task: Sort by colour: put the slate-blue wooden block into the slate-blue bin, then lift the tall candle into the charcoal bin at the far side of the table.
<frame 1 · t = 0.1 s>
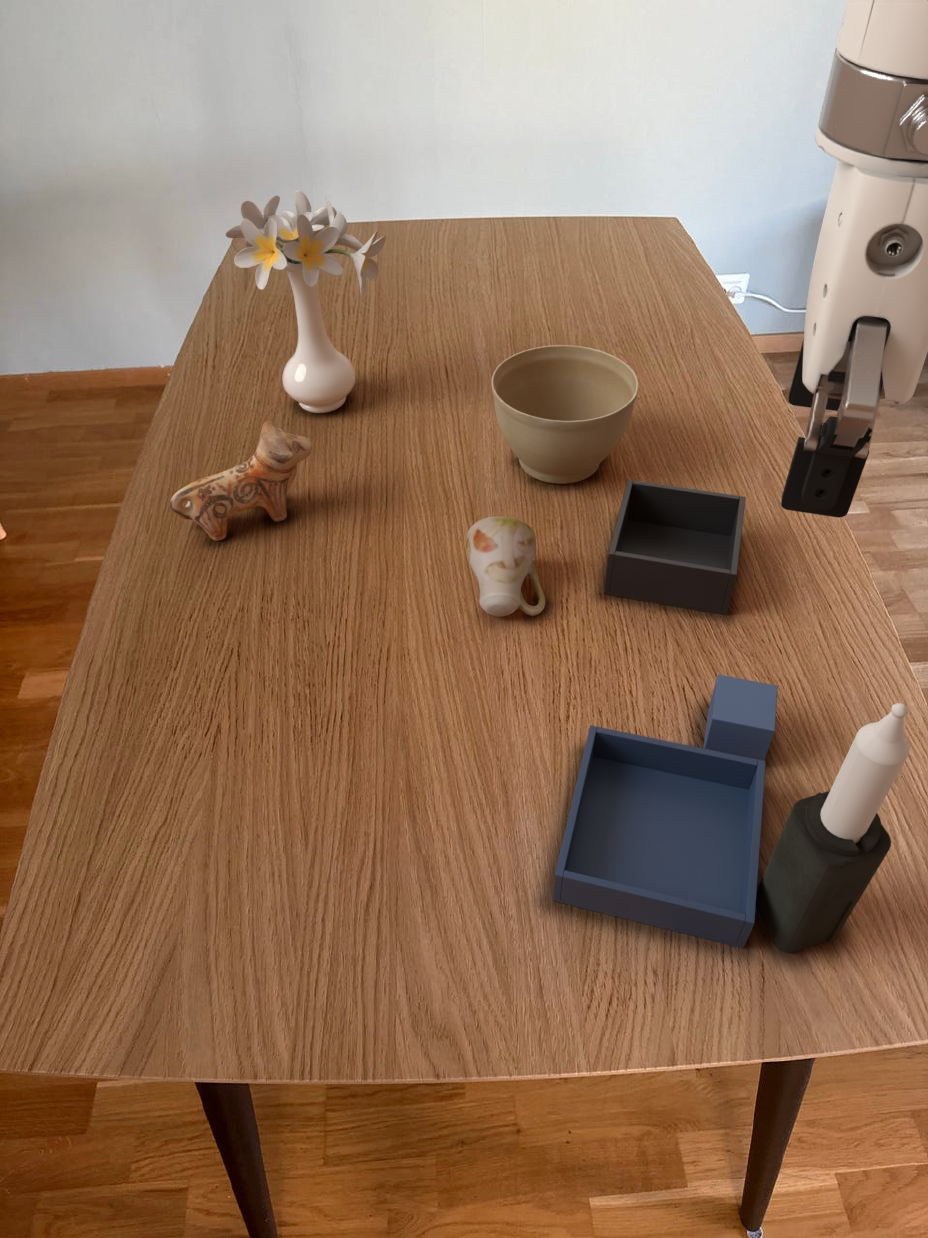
hand: (814, 454, 49), 35 cm above the table, tool pointing down, fingers open, 9 cm apart
mug: (504, 591, 93), on the table
blue bin: (658, 842, 73), on the table
charcoal bin: (671, 564, 95), on the table
figurine: (253, 520, 102), on the table
blue block: (734, 737, 80), on the table
flower vase: (328, 400, 119), on the table
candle: (794, 917, 68), on the table
planter bowl: (559, 462, 108), on the table
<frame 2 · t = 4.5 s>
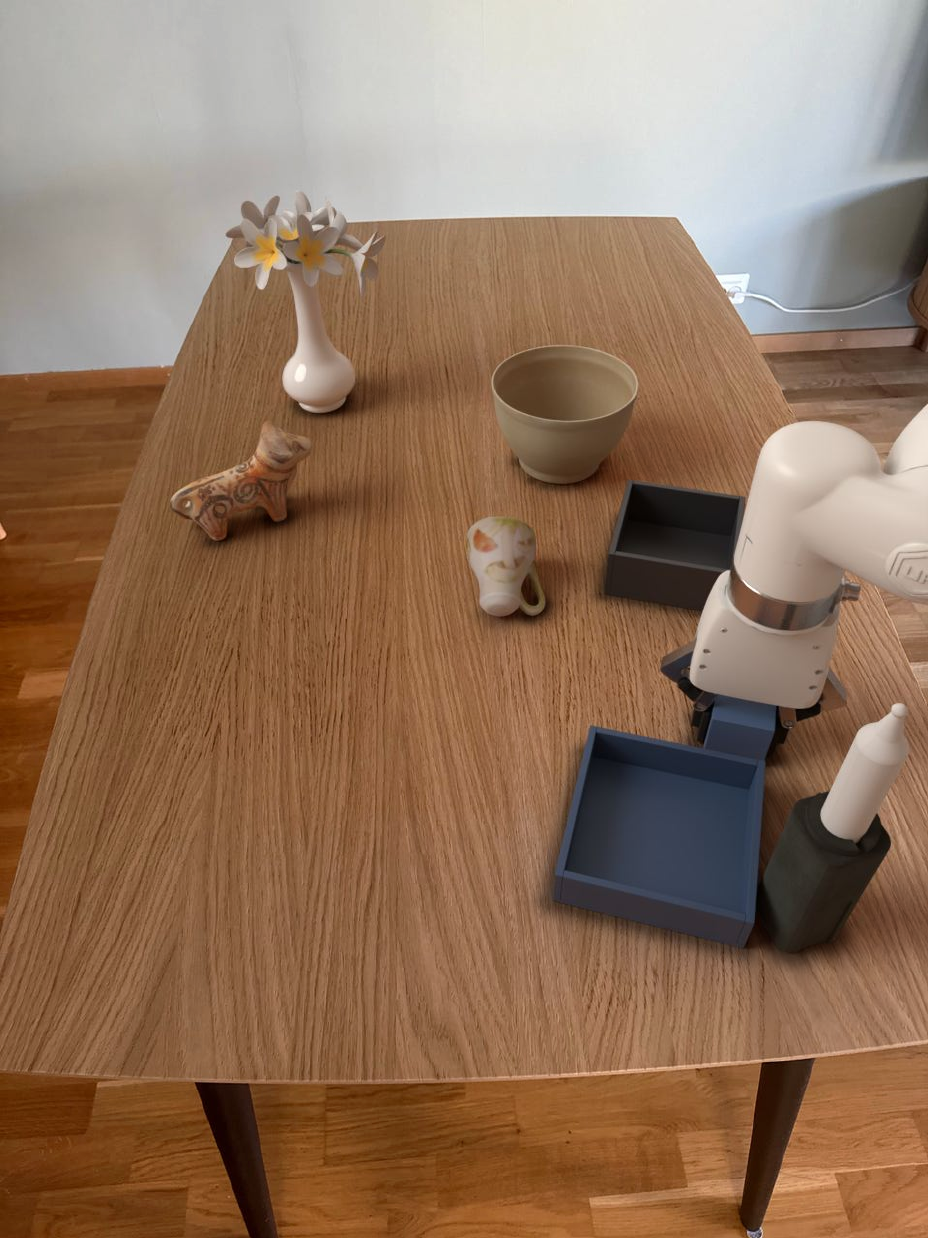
hand: (735, 734, 79), 0 cm above the table, tool pointing down, fingers closed on blue block, 5 cm apart
blue block: (734, 737, 80), on the table, touching gripper
everything else where it was.
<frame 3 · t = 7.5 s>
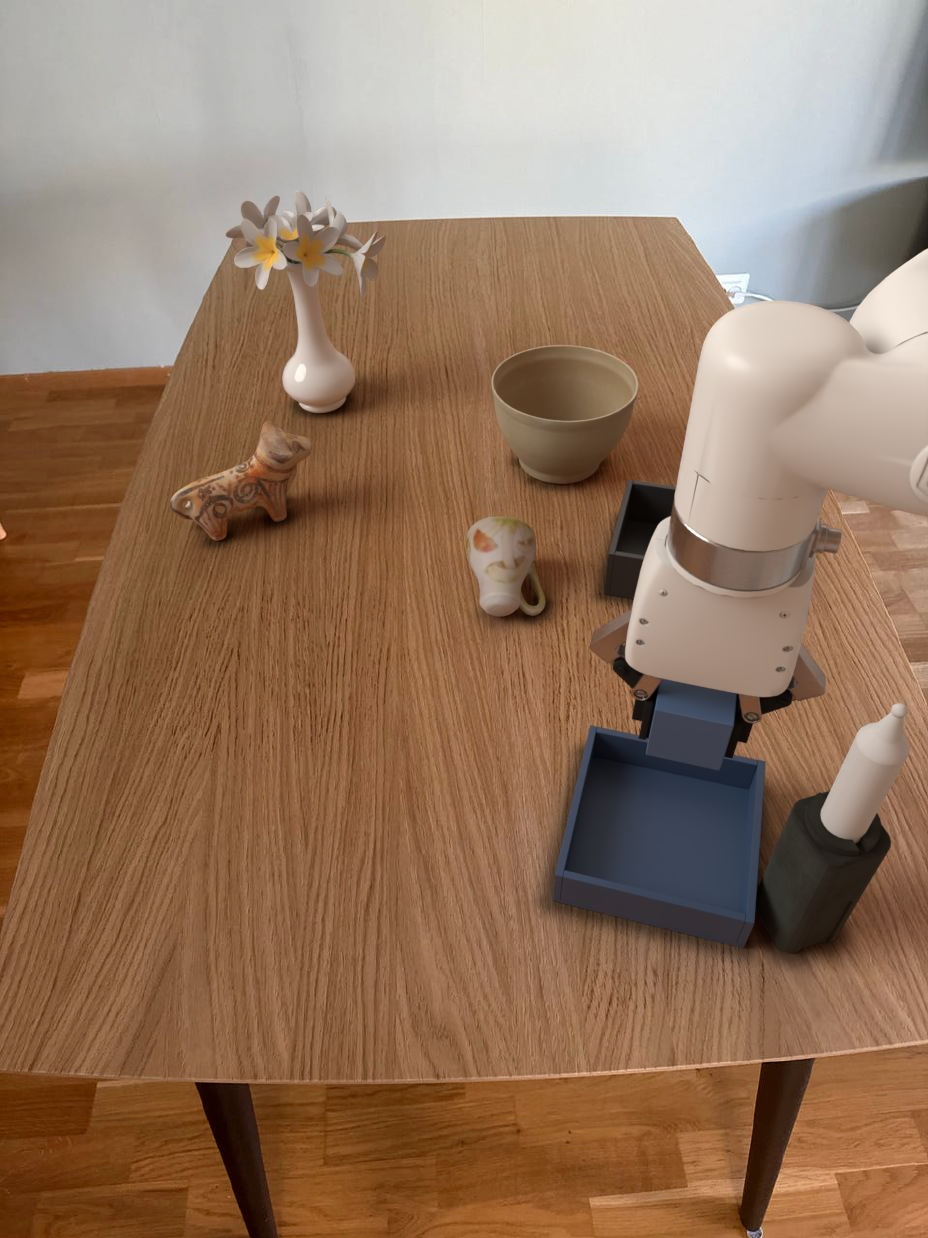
hand: (687, 730, 63), 14 cm above the table, tool pointing down, fingers closed on blue block, 5 cm apart
blue block: (686, 734, 64), point 13 cm above the table, touching gripper
everything else where it was.
when the fingers open (1 cm above the table, at t = 10.7 s): blue block stays where it is, resting on blue bin.
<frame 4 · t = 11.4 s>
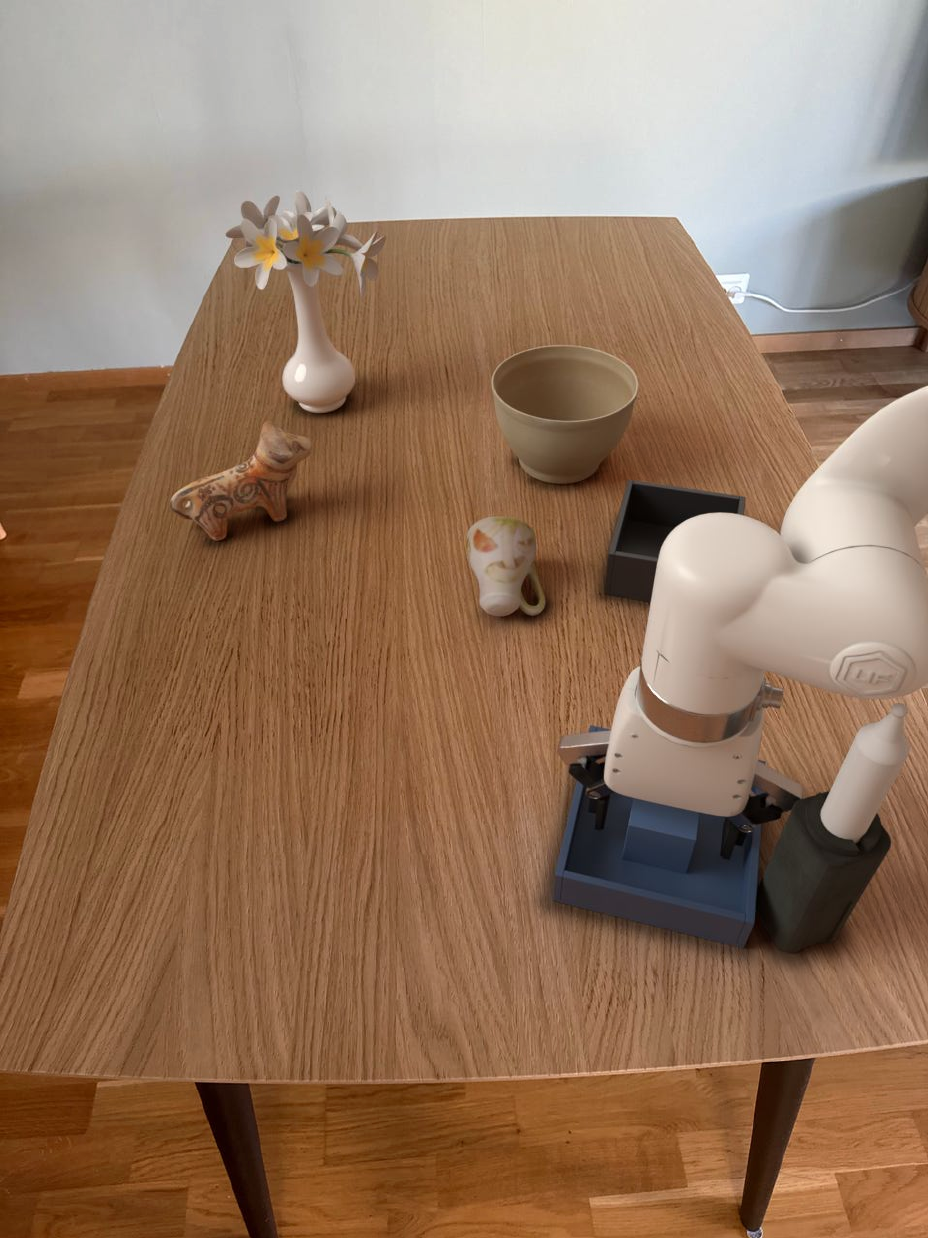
hand: (663, 828, 71), 2 cm above the table, tool pointing down, fingers open, 9 cm apart
blue block: (658, 839, 72), resting on blue bin
everything else where it was.
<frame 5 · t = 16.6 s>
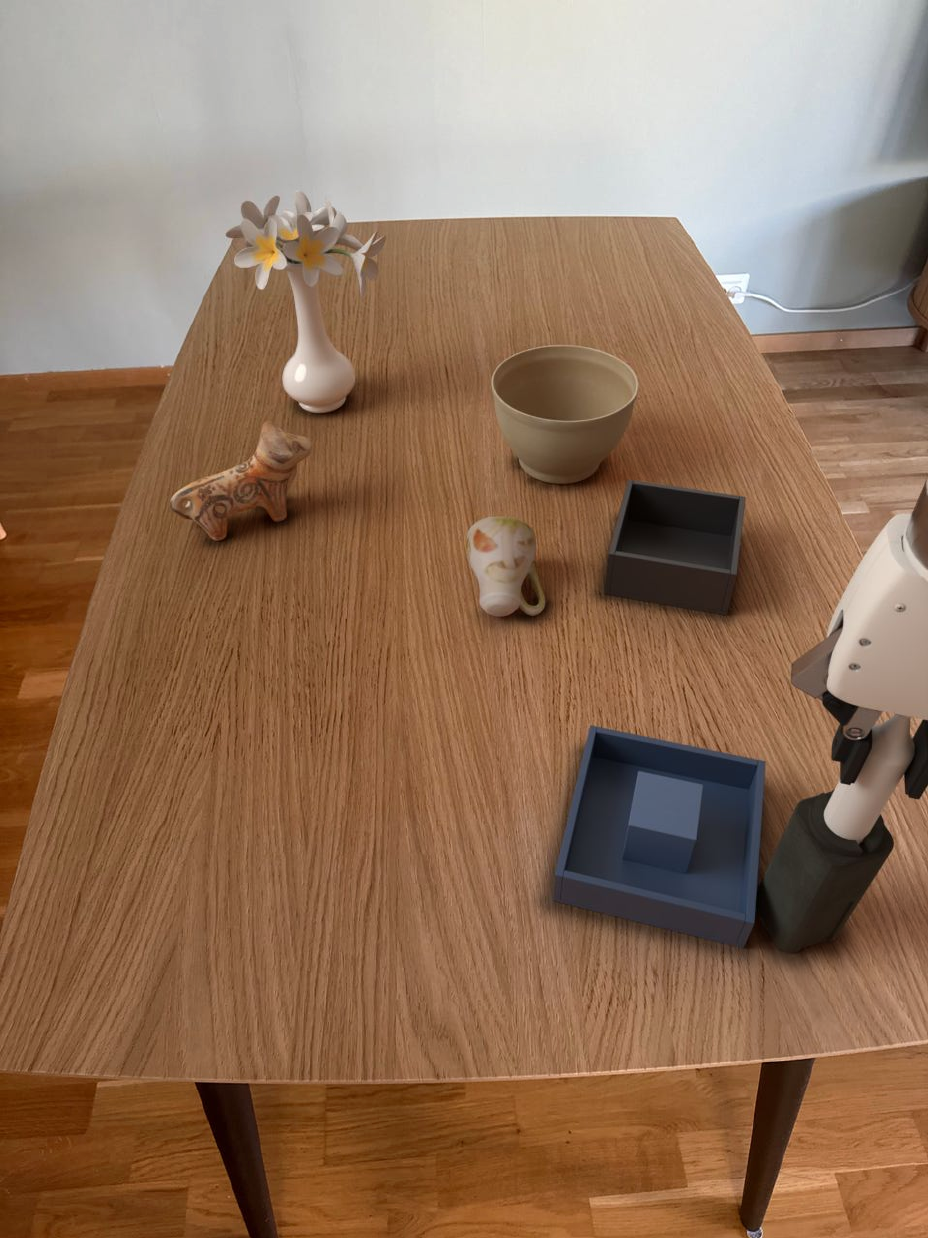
hand: (878, 770, 54), 20 cm above the table, tool pointing down, fingers closed on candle, 3 cm apart
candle: (794, 917, 68), on the table, touching gripper
everything else where it was.
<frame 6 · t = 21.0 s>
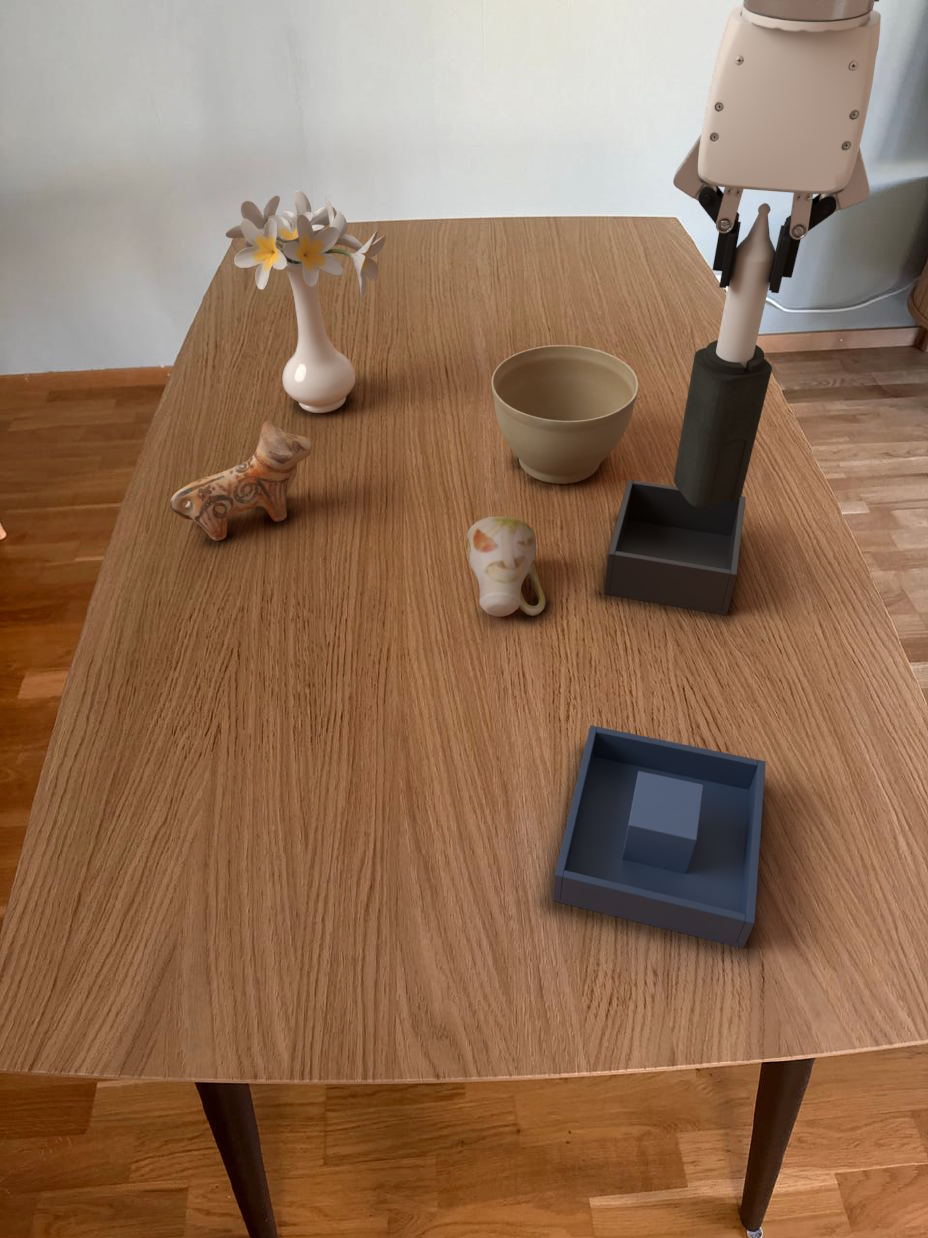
hand: (749, 279, 68), 33 cm above the table, tool pointing down, fingers closed on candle, 3 cm apart
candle: (706, 489, 82), point 13 cm above the table, touching gripper
everything else where it was.
when the fingers open (20 cm above the table, at t = 25.4 s): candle stays where it is, resting on charcoal bin.
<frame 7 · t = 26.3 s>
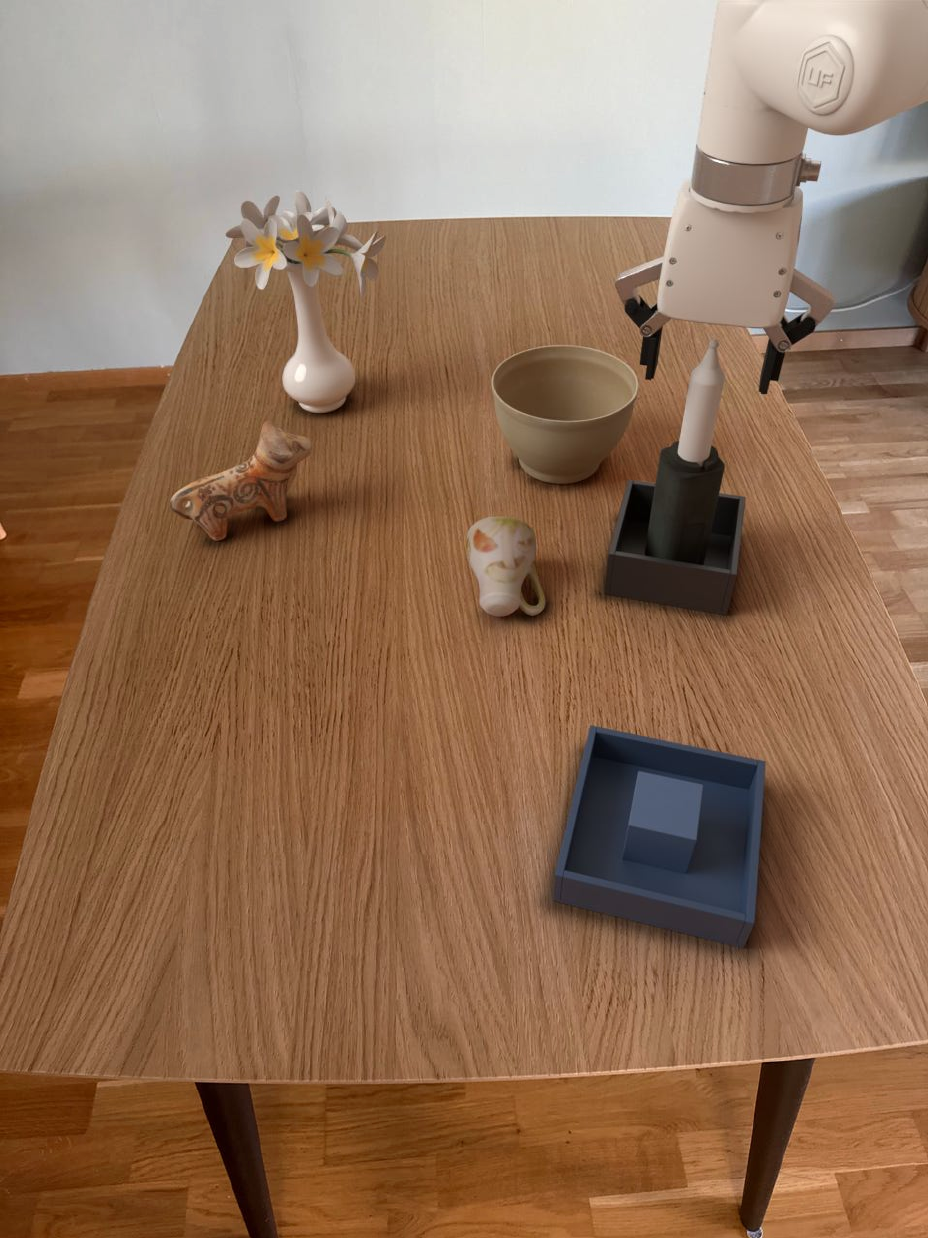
hand: (706, 378, 79), 22 cm above the table, tool pointing down, fingers open, 9 cm apart
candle: (673, 560, 95), resting on charcoal bin
everything else where it was.
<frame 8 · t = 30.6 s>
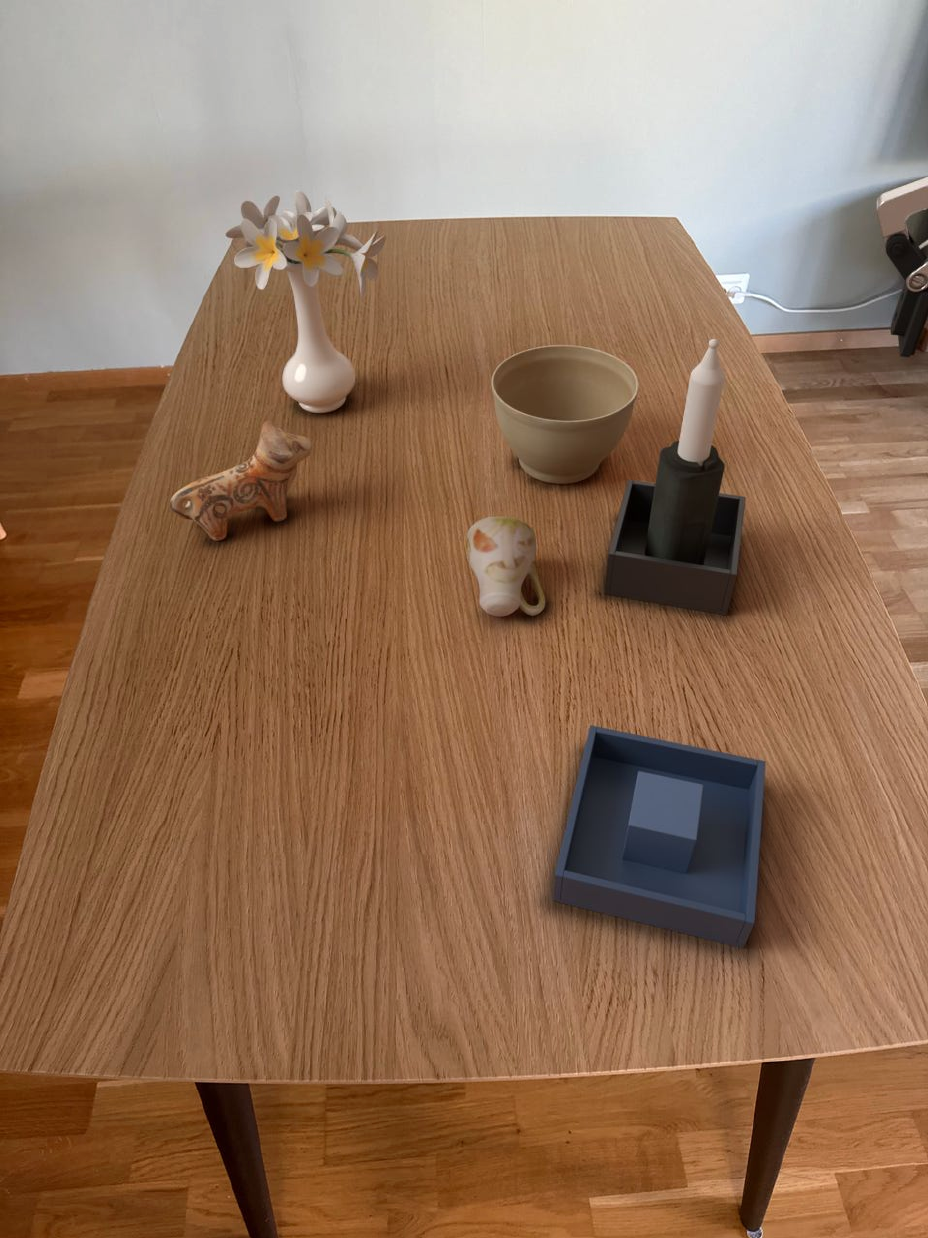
nothing on the table moved.
at the end: blue block inside the target area in the blue bin (0.1 cm from its centre), point 0.5 cm above the blue bin's base; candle inside the target area in the charcoal bin (0.3 cm from its centre), point 0.3 cm above the charcoal bin's base; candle tilted 0° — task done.
